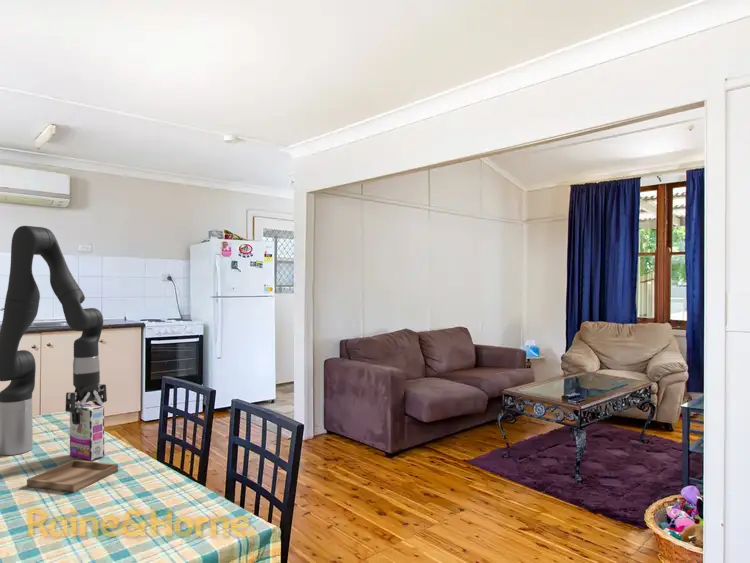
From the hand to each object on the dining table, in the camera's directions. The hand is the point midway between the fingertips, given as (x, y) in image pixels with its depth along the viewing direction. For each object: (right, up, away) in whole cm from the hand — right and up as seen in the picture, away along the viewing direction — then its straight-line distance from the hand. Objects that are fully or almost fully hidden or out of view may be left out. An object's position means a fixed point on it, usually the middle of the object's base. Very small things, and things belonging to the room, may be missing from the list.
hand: (87, 420), depth 167 cm
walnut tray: (+6, -12, -18) cm, 23 cm away
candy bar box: (0, -12, 0) cm, 12 cm away
